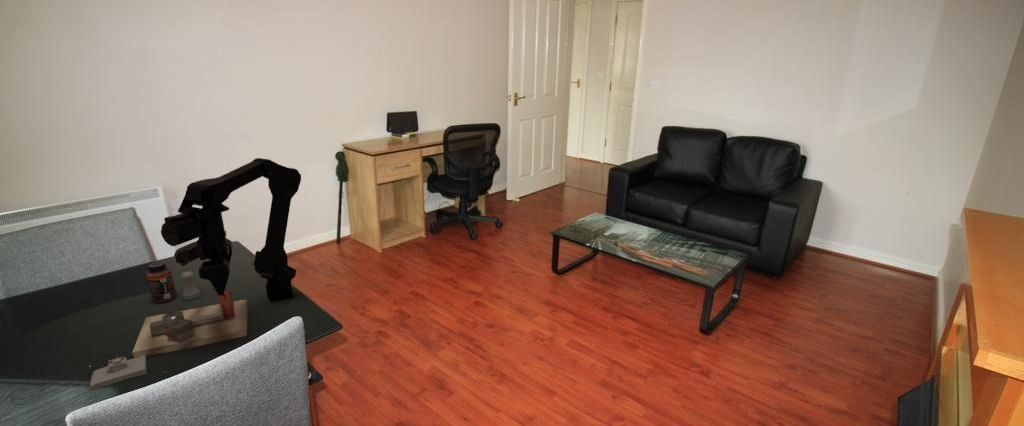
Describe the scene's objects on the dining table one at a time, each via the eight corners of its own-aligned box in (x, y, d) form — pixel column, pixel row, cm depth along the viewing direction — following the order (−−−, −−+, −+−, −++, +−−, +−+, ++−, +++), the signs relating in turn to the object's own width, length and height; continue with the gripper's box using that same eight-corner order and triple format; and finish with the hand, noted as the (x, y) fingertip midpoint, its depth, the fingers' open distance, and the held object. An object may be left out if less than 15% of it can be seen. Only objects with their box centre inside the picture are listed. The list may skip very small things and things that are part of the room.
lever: (151, 337, 122) (144, 313, 120) (152, 328, 126) (146, 304, 123) (235, 318, 131) (231, 295, 129) (234, 310, 135) (230, 288, 132)
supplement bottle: (175, 301, 144) (167, 266, 140) (151, 305, 141) (141, 269, 137) (178, 292, 149) (170, 258, 145) (154, 296, 146) (145, 261, 142)
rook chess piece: (192, 301, 144) (186, 277, 141) (179, 299, 144) (173, 275, 142) (204, 294, 148) (199, 270, 145) (191, 292, 149) (186, 268, 146)
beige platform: (143, 351, 122) (140, 338, 120) (159, 370, 115) (155, 356, 114) (82, 374, 113) (77, 361, 112) (94, 397, 106) (90, 382, 105)
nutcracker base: (247, 305, 142) (244, 286, 140) (246, 336, 128) (242, 316, 126) (147, 323, 132) (142, 304, 130) (134, 359, 118) (127, 338, 116)
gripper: (178, 223, 127) (190, 277, 133) (167, 250, 112) (181, 310, 117) (227, 218, 132) (237, 270, 137) (223, 243, 116) (234, 301, 121)
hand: (222, 287), depth 128 cm, fingers open, 9 cm apart
